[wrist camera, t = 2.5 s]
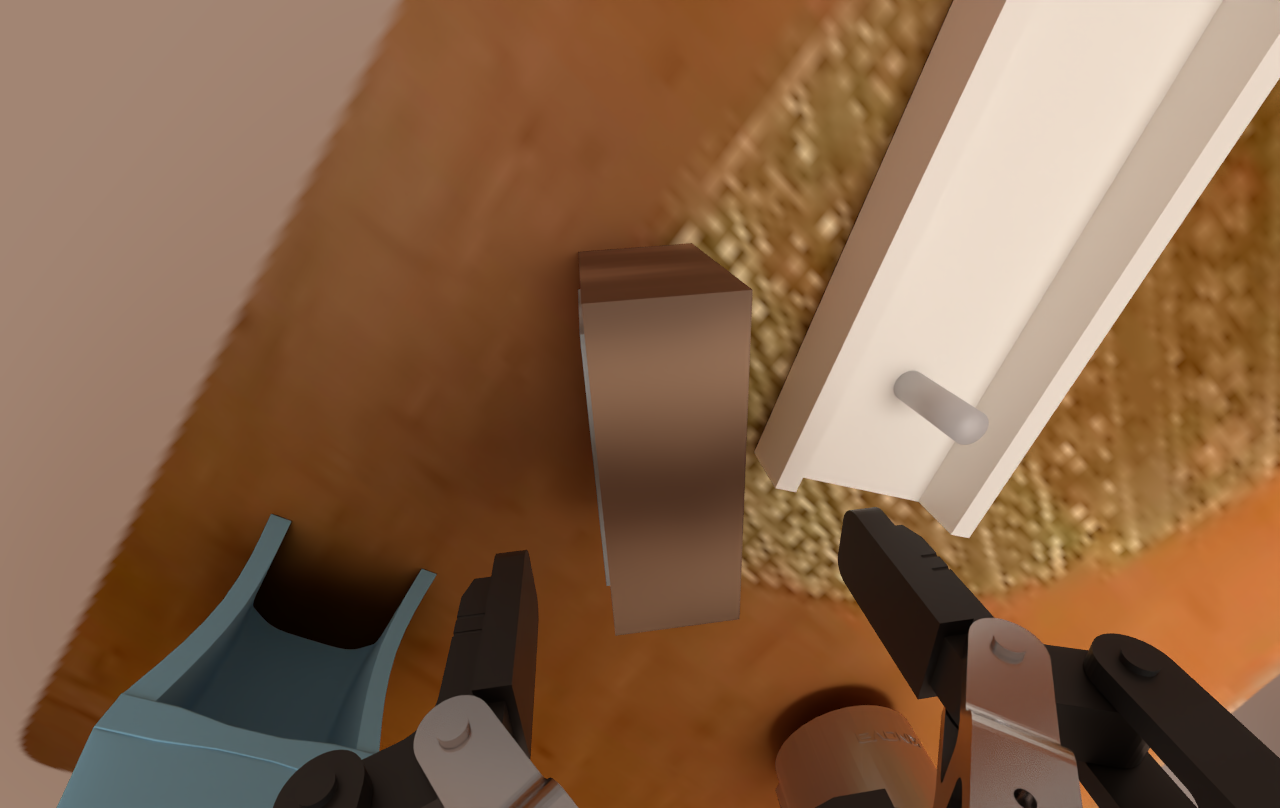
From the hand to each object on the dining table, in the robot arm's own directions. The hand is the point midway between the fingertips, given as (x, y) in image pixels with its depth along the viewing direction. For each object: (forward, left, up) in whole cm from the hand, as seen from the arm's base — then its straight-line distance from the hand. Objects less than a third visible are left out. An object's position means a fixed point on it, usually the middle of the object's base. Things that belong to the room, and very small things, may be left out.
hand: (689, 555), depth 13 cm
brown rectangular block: (0, 0, -11) cm, 11 cm away
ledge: (+12, -11, -11) cm, 20 cm away
